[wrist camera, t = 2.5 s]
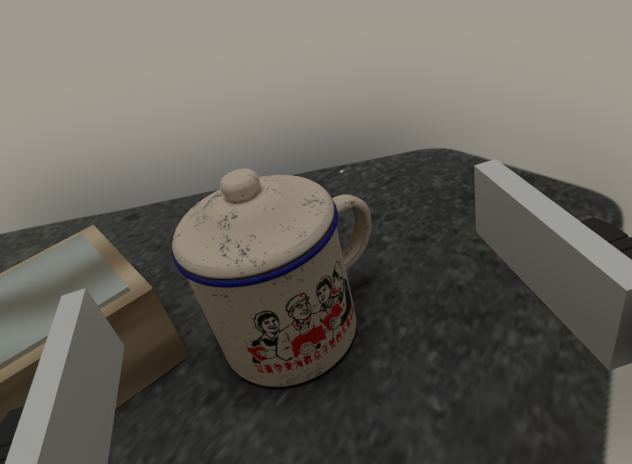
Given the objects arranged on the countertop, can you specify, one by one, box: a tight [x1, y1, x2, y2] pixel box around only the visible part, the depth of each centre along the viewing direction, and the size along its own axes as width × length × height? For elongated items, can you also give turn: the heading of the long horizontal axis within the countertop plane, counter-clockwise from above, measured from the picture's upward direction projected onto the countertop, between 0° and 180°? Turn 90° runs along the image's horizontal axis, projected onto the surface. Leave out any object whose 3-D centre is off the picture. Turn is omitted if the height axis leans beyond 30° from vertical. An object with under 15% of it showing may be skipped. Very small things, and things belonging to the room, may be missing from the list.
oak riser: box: [0, 225, 190, 423], centre depth 30 cm, size 11×11×6 cm
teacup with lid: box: [172, 169, 371, 387], centre depth 28 cm, size 12×9×12 cm
